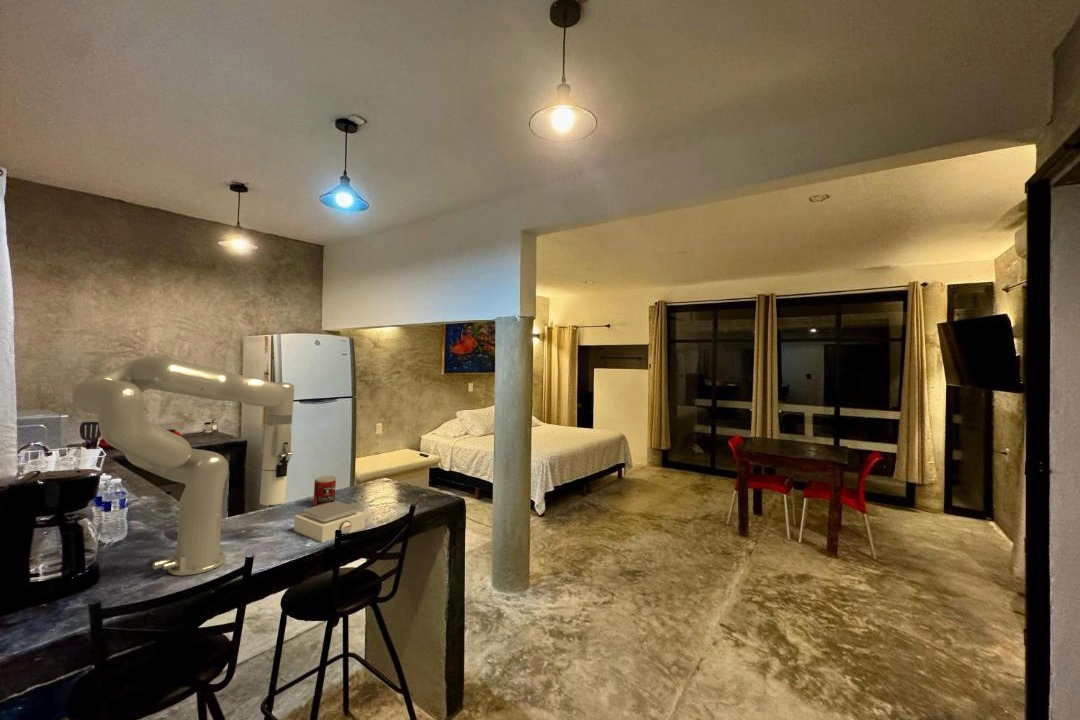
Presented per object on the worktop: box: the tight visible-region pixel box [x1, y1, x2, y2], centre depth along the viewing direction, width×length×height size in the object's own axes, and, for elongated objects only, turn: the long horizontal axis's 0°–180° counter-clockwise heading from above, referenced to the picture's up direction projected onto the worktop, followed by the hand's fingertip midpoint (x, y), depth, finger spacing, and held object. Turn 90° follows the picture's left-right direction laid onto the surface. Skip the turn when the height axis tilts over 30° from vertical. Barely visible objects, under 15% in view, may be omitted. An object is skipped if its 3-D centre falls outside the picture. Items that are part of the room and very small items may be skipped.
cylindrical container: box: [259, 425, 289, 506], centre depth 141 cm, size 7×7×25 cm
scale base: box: [293, 511, 367, 543], centre depth 150 cm, size 16×17×5 cm
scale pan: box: [301, 500, 360, 522], centre depth 150 cm, size 13×13×1 cm
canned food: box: [313, 475, 337, 507], centre depth 173 cm, size 8×8×11 cm
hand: (274, 474), depth 141 cm, fingers closed on cylindrical container, 7 cm apart
